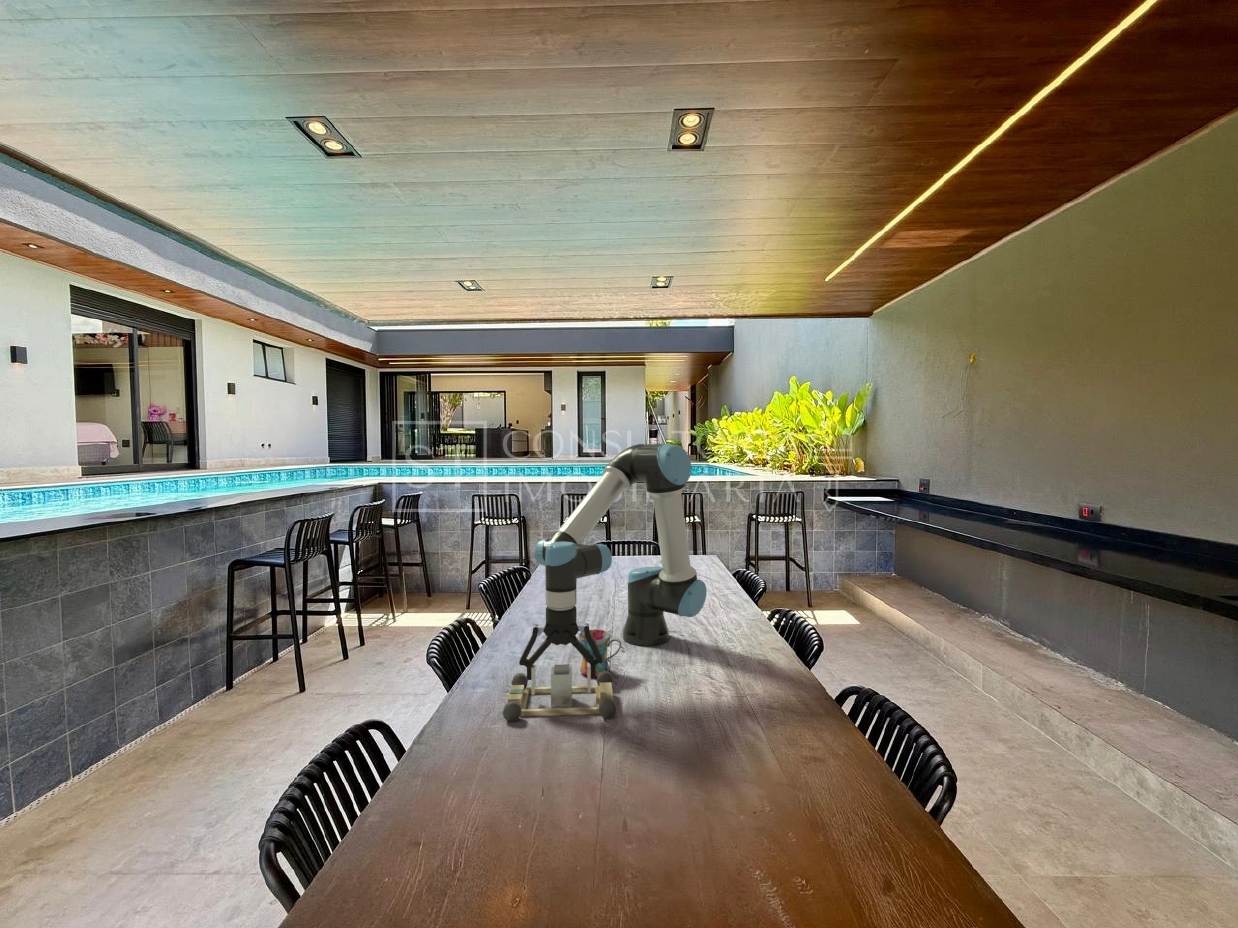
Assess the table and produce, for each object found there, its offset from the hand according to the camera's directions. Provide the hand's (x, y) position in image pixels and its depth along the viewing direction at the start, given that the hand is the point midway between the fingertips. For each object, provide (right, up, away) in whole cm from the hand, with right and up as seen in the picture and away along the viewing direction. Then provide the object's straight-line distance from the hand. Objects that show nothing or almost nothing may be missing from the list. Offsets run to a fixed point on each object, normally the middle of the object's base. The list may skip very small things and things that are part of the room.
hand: (561, 691), depth 139 cm
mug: (+9, -2, +19) cm, 21 cm away
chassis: (0, -3, 0) cm, 3 cm away
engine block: (0, -3, 0) cm, 3 cm away
